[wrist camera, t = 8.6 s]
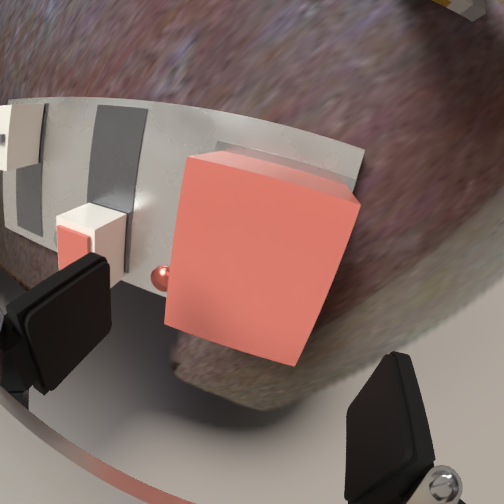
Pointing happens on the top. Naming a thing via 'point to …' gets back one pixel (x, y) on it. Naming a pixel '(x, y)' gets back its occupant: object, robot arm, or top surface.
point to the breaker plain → (20, 135)
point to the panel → (145, 168)
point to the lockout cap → (255, 253)
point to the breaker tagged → (92, 237)
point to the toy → (466, 7)
